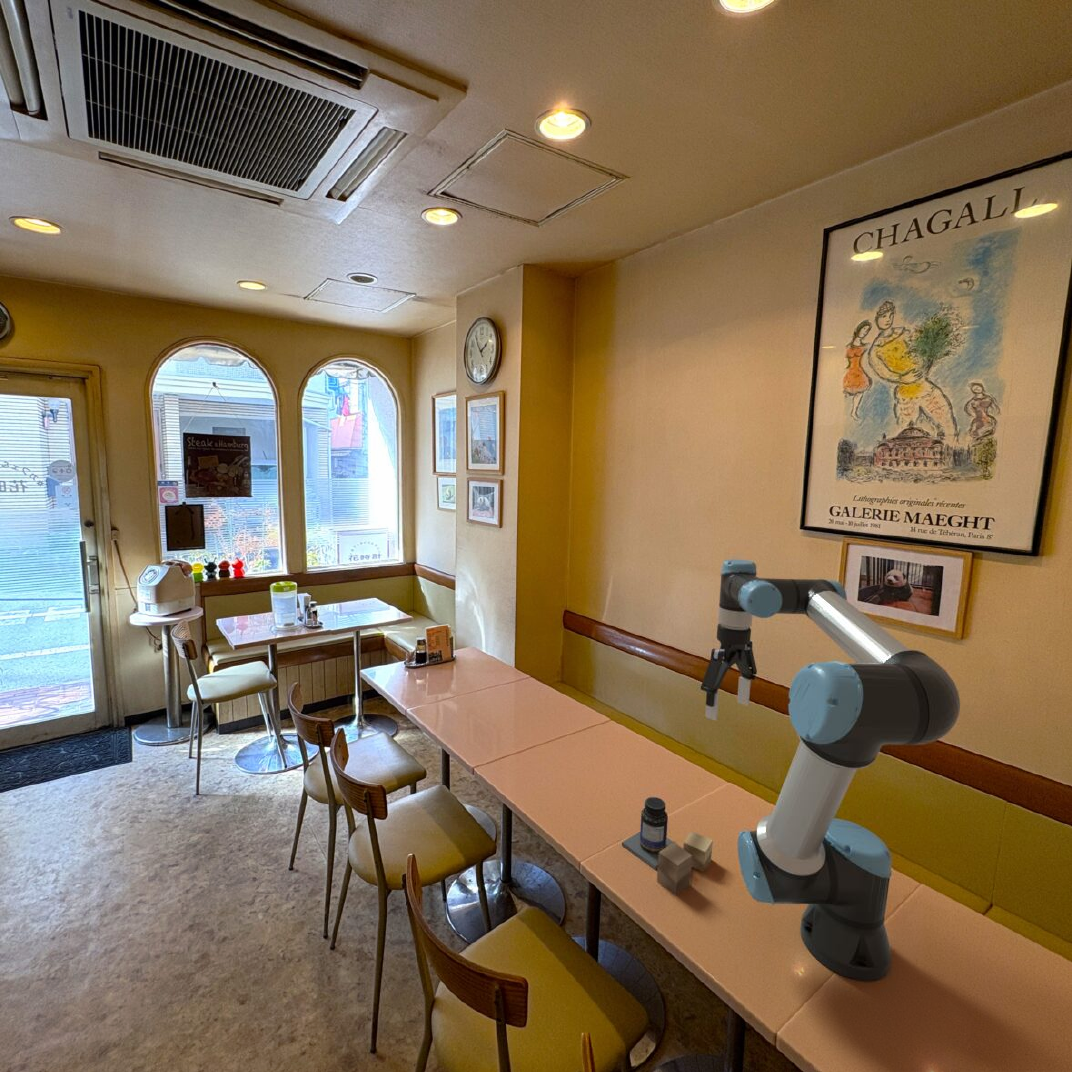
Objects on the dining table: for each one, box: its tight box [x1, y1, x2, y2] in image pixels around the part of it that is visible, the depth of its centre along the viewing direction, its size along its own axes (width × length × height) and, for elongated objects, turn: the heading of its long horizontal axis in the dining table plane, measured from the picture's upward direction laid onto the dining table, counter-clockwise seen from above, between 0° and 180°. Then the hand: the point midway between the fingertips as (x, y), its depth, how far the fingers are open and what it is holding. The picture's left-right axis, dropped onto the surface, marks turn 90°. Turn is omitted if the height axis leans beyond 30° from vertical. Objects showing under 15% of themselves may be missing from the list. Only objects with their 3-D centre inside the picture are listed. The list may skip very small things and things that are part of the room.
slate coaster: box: [621, 831, 683, 870], centre depth 134 cm, size 10×10×1 cm
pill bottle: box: [639, 796, 669, 854], centre depth 133 cm, size 6×6×11 cm
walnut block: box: [656, 842, 692, 896], centre depth 123 cm, size 5×5×7 cm
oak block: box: [682, 831, 714, 872], centre depth 130 cm, size 5×5×5 cm
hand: (727, 710), depth 136 cm, fingers open, 13 cm apart
